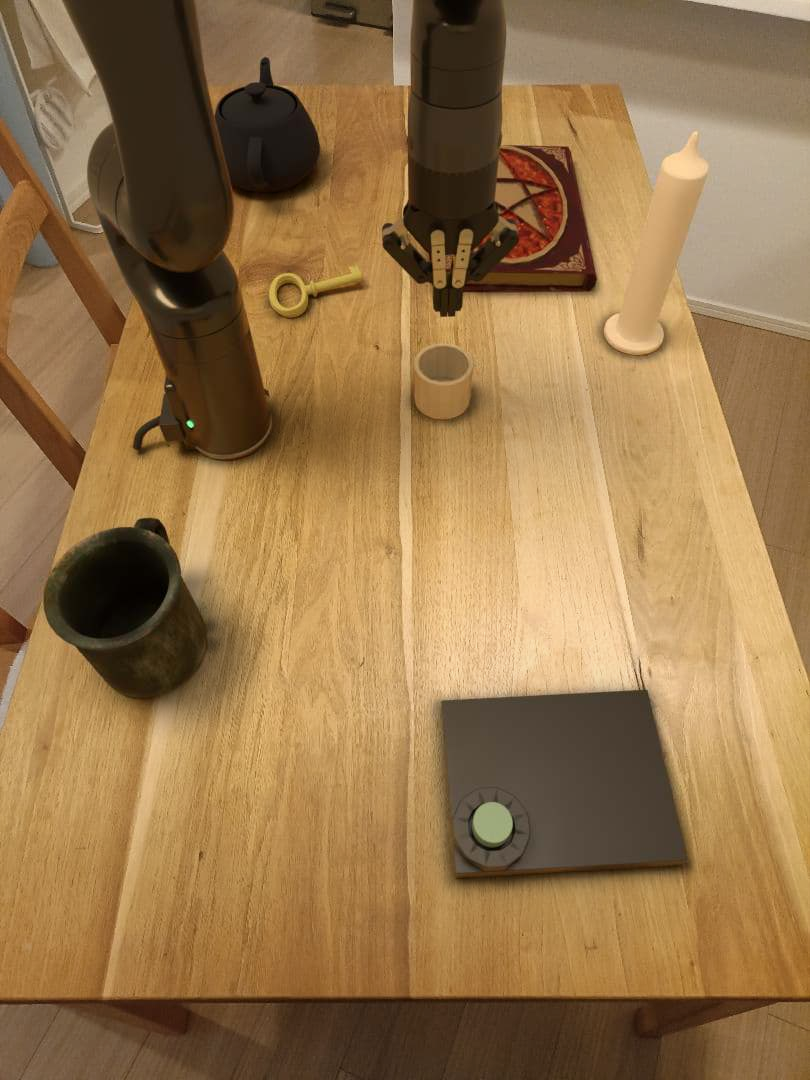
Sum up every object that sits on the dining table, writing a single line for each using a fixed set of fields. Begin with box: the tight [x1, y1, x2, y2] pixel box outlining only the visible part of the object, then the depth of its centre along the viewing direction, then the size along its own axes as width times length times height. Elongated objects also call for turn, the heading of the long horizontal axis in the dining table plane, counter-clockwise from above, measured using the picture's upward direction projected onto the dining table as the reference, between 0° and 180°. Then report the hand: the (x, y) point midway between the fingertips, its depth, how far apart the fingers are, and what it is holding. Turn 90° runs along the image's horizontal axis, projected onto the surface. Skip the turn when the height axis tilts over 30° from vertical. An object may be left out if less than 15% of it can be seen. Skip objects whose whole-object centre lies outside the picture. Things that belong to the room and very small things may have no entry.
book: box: [428, 144, 598, 292], centre depth 104 cm, size 28×21×5 cm
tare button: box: [472, 802, 513, 848], centre depth 59 cm, size 3×3×2 cm
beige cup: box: [413, 342, 474, 420], centre depth 86 cm, size 6×6×6 cm
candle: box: [603, 131, 710, 356], centre depth 83 cm, size 7×7×25 cm
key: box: [268, 264, 364, 319], centre depth 98 cm, size 7×12×2 cm, turn 123°
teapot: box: [214, 56, 321, 194], centre depth 108 cm, size 25×16×12 cm, turn 1°
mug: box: [42, 517, 208, 698], centre depth 67 cm, size 11×15×12 cm
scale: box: [440, 689, 688, 879], centre depth 63 cm, size 18×14×4 cm
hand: (446, 311), depth 77 cm, fingers closed
